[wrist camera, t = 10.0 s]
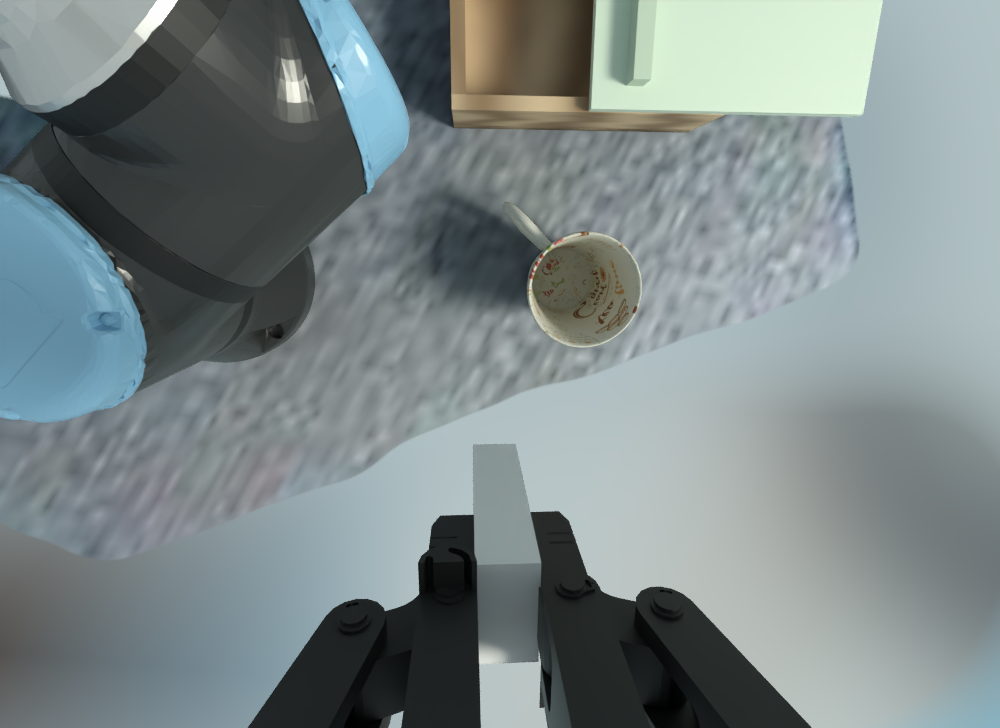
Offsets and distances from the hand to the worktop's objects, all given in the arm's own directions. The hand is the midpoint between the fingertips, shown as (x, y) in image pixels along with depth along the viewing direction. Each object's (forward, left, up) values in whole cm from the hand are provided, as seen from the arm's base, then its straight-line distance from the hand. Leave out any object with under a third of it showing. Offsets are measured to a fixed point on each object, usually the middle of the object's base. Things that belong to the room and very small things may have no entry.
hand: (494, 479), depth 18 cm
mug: (+6, +6, -30) cm, 31 cm away
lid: (+18, +23, -23) cm, 37 cm away
